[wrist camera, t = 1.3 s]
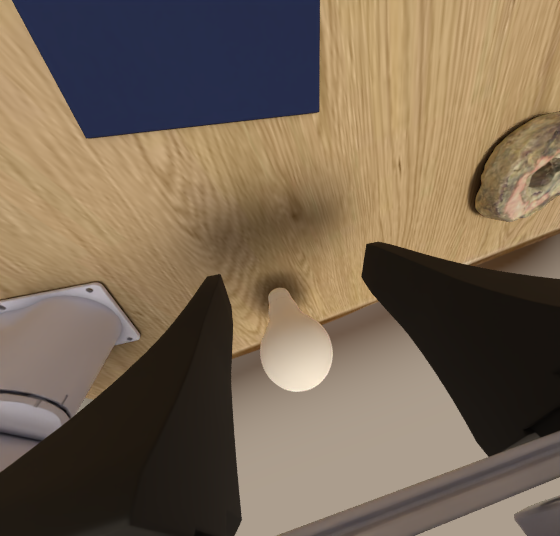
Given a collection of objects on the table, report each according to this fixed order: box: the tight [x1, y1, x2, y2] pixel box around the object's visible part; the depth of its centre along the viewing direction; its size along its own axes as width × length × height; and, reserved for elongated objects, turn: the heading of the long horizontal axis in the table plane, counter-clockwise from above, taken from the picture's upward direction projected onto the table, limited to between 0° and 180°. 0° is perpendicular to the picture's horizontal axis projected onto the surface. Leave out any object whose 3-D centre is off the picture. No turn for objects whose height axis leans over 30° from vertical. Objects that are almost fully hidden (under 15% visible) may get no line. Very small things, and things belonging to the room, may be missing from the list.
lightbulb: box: [260, 288, 333, 392], centre depth 19 cm, size 6×6×11 cm
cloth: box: [12, 0, 320, 138], centre depth 12 cm, size 16×9×1 cm, turn 96°
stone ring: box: [475, 111, 560, 222], centre depth 20 cm, size 10×4×10 cm
